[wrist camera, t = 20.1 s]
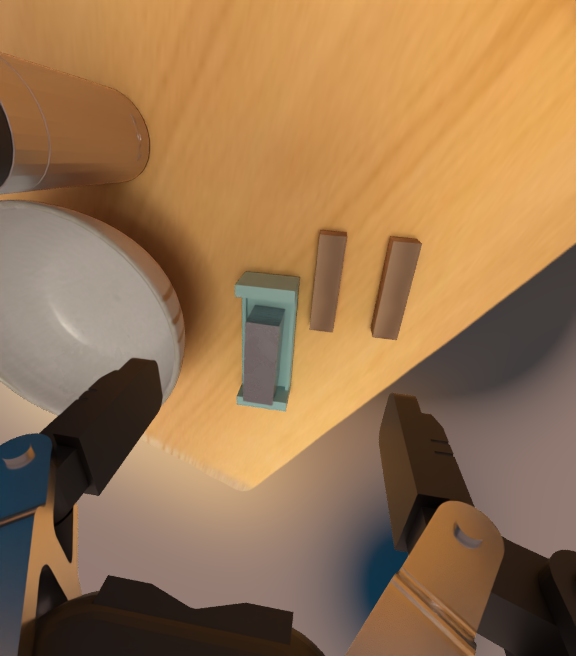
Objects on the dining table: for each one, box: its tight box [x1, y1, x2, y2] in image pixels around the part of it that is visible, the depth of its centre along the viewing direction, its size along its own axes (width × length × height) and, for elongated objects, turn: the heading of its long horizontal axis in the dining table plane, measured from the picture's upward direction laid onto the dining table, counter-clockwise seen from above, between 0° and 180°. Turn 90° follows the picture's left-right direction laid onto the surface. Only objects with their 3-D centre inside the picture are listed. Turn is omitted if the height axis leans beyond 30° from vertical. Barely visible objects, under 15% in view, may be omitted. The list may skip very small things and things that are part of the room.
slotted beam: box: [309, 230, 422, 340], centre depth 39 cm, size 11×12×2 cm
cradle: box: [235, 271, 300, 411], centre depth 43 cm, size 7×18×5 cm, turn 177°
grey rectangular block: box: [243, 305, 285, 406], centre depth 42 cm, size 4×12×5 cm, turn 175°
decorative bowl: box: [0, 200, 185, 416], centre depth 40 cm, size 27×27×12 cm
